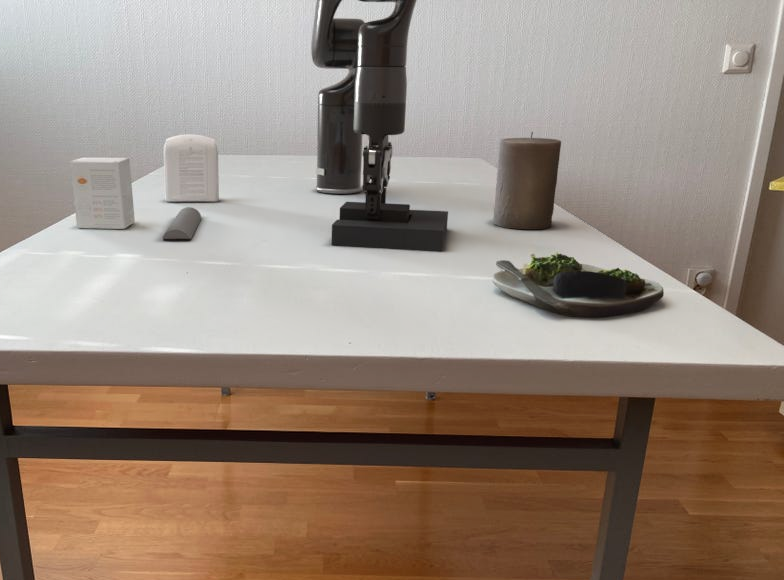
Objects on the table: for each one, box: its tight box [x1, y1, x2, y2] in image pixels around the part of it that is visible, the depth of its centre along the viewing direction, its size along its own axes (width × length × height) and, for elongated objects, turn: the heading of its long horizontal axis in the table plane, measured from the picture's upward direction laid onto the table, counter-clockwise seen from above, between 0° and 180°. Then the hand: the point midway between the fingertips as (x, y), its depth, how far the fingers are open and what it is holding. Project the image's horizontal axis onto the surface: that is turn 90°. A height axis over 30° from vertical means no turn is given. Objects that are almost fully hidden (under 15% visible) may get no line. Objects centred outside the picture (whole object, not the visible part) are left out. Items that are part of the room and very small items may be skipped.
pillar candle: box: [492, 131, 562, 230], centre depth 128 cm, size 10×10×15 cm
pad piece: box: [338, 201, 411, 223], centre depth 119 cm, size 6×10×3 cm, turn 78°
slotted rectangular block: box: [331, 209, 449, 252], centre depth 119 cm, size 16×16×3 cm
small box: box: [69, 156, 136, 230], centre depth 124 cm, size 8×6×10 cm
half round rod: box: [161, 206, 202, 240], centre depth 124 cm, size 4×20×2 cm, turn 2°
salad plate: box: [492, 251, 665, 318], centre depth 90 cm, size 19×18×5 cm
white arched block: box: [163, 133, 220, 203], centre depth 147 cm, size 10×4×12 cm, turn 98°
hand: (375, 214), depth 119 cm, fingers closed on pad piece, 6 cm apart
